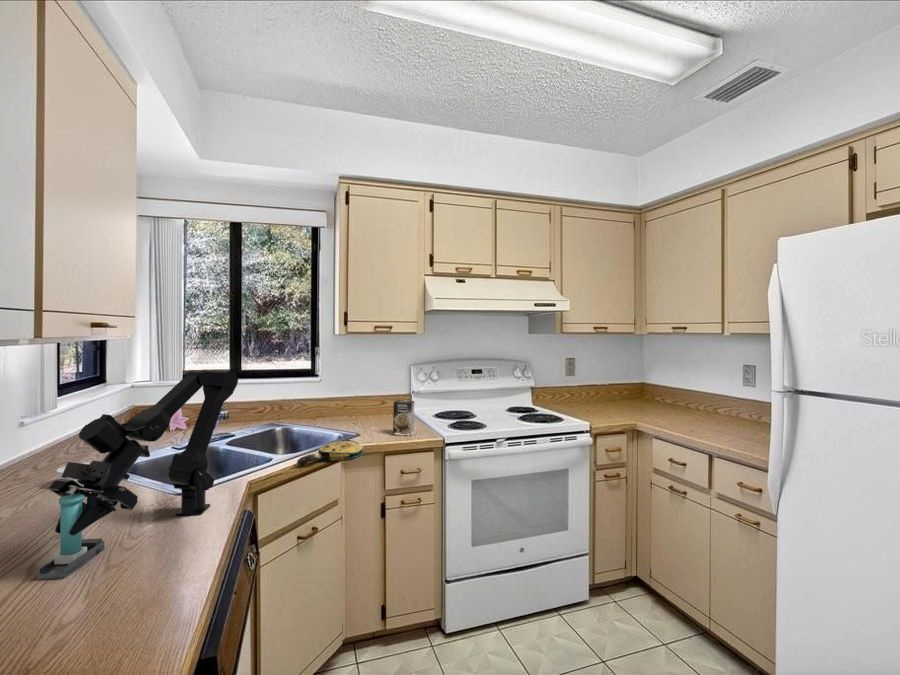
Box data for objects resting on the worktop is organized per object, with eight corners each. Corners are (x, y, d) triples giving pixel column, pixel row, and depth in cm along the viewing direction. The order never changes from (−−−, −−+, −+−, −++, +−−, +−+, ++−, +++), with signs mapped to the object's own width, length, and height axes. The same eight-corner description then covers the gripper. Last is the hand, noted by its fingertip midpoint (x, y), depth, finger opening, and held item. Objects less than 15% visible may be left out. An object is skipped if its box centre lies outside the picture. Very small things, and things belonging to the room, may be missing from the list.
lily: (155, 434, 217) (161, 418, 215) (159, 421, 227) (166, 404, 225) (182, 440, 223) (189, 424, 221) (186, 426, 233) (192, 410, 231)
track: (80, 550, 101) (80, 537, 101) (104, 549, 102) (104, 536, 102) (37, 579, 89) (37, 565, 89) (64, 578, 90) (64, 564, 90)
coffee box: (392, 435, 218) (392, 401, 218) (395, 432, 224) (396, 399, 224) (411, 436, 217) (411, 402, 217) (414, 433, 223) (414, 400, 223)
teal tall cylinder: (67, 554, 96) (67, 494, 96) (88, 554, 97) (88, 493, 97) (53, 564, 92) (53, 501, 92) (74, 563, 93) (75, 500, 93)
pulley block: (287, 446, 169) (352, 433, 192) (285, 461, 170) (351, 447, 193) (309, 459, 160) (374, 444, 184) (307, 475, 161) (373, 458, 184)
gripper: (58, 441, 101) (-3, 510, 90) (125, 448, 96) (69, 522, 85) (94, 467, 108) (41, 534, 98) (158, 475, 104) (110, 545, 93)
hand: (64, 533), depth 93 cm, fingers closed on teal tall cylinder, 3 cm apart
